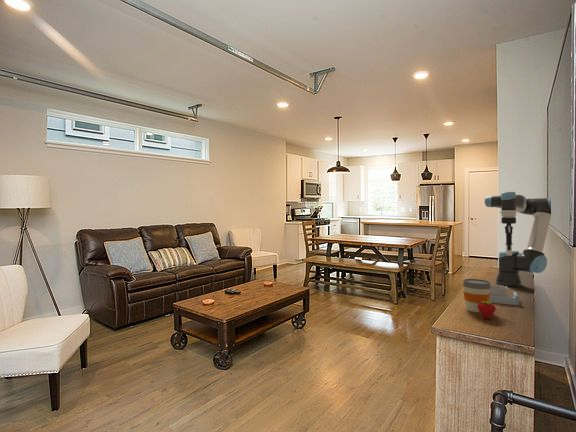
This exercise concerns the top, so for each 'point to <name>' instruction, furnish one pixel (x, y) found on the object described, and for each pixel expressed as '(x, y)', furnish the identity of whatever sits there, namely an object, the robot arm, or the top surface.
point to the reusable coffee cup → (475, 293)
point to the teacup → (498, 290)
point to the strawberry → (486, 309)
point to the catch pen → (505, 299)
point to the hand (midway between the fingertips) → (509, 255)
